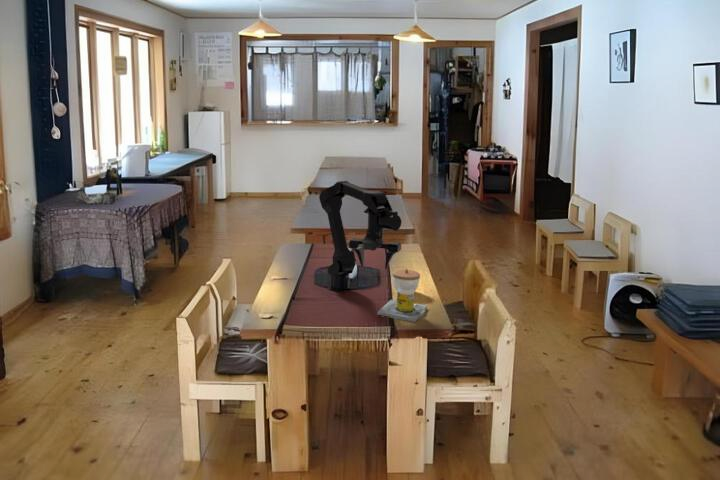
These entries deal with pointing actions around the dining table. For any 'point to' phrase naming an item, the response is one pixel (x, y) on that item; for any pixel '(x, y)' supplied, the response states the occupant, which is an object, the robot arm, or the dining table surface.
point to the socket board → (393, 313)
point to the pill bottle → (405, 297)
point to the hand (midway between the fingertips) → (374, 267)
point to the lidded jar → (405, 278)
